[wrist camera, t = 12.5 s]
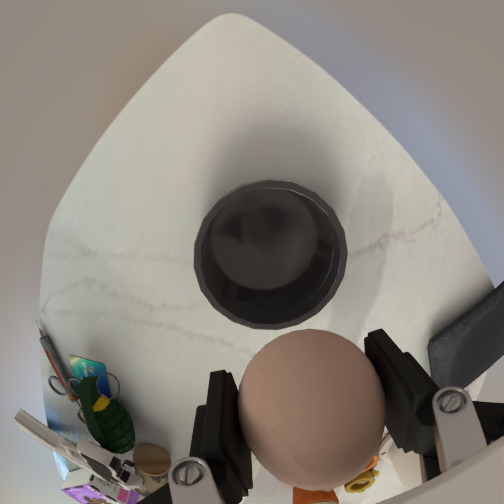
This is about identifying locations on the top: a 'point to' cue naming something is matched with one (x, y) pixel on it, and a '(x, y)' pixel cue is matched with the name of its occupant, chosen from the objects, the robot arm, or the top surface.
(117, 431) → the grenade
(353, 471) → the egg
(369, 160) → the top surface
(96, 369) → the credit card
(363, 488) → the toy tea set
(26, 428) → the replica gun
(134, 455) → the mug
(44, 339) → the syringe
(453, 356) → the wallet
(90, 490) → the candy box
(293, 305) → the bowl
